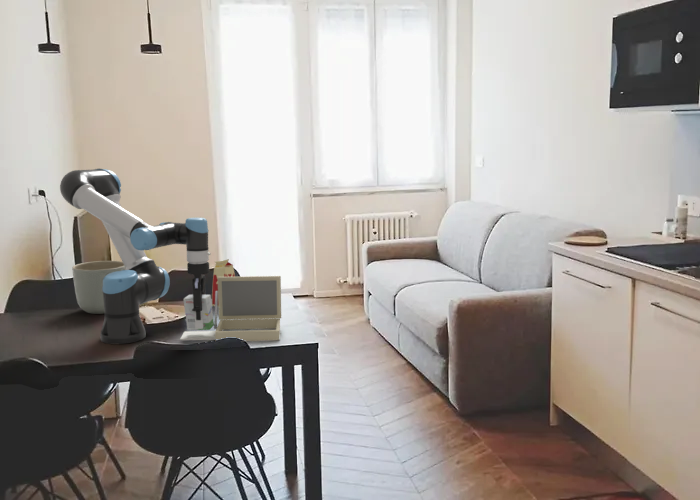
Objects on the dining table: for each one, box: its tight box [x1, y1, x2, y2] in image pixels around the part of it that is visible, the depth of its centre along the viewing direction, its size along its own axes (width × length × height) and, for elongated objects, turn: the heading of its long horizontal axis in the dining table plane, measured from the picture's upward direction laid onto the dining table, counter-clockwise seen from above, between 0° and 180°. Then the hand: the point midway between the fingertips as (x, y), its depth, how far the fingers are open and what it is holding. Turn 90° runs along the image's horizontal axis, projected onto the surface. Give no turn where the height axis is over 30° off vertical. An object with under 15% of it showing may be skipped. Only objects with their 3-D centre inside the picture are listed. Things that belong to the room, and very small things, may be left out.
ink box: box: [183, 294, 215, 331], centre depth 237 cm, size 9×5×12 cm, turn 80°
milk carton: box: [211, 258, 236, 308], centre depth 283 cm, size 9×9×20 cm
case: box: [213, 275, 282, 342], centre depth 240 cm, size 24×17×20 cm
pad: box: [179, 330, 216, 341], centre depth 239 cm, size 13×9×1 cm
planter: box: [72, 260, 126, 315], centre depth 273 cm, size 21×21×19 cm
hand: (200, 325), depth 238 cm, fingers closed on ink box, 6 cm apart
